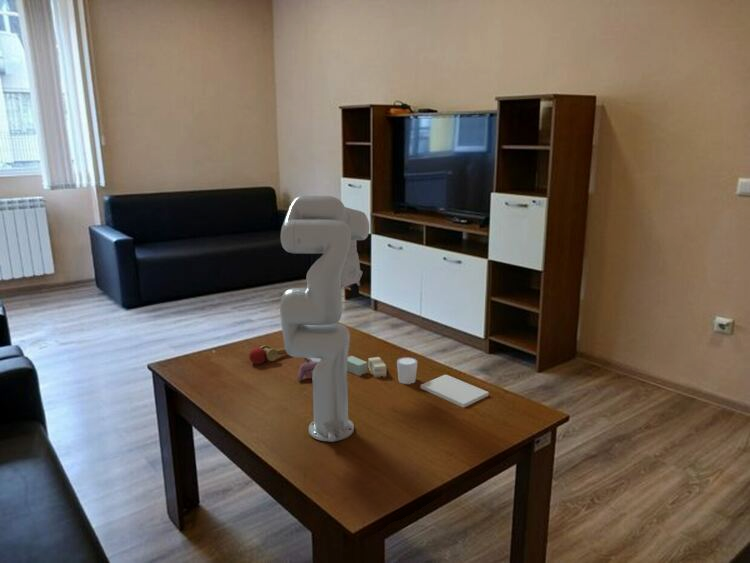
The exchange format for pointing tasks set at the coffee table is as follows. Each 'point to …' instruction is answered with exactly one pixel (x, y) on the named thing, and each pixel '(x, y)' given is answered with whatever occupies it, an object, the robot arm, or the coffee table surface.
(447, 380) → the ceramic tile
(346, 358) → the robot arm
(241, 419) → the coffee table surface
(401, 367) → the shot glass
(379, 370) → the birch block
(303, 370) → the video game controller
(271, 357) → the kendama
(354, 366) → the sage block
